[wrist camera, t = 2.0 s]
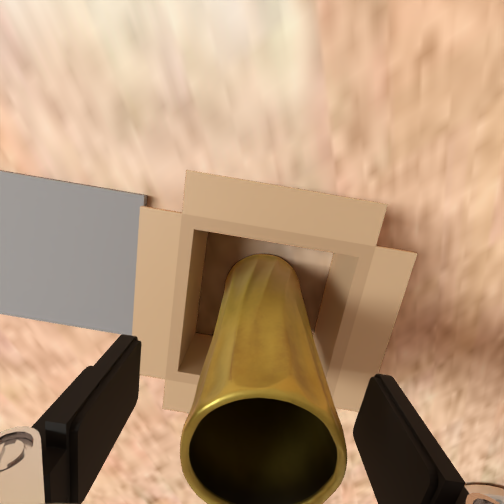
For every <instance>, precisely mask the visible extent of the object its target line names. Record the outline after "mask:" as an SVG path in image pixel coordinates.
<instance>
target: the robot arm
mask: <svg viewBox="0 0 504 504" xmlns="http://www.w3.org/2000/svg"><path fill="white" fill-rule="evenodd" d="M141 346H142V342H141V341H139V340H138V338H137V336H132V335H125V334H122V335H121V336H120V337H119V338H118V339H117V340H116V341H115V342H114V343H113V344H112V346H111V347H110V348H109V349H108V350H107V351H106V352H105V354H104V355H103V356H102V357H101V358H100V359H99V360H98V361H97V363H96V364H95V365H94V366H88V367H87V368H86V369H84V370H83V371H82V373H81V374H80V375H79V376H78V377H77V378H76V379H75V380H74V381H73V382H72V383H71V385H70V386H69V387H68V388H67V389H66V390H65V391H64V392H63V393H62V394H61V396H60V397H59V398H58V399H57V400H56V401H55V402H54V403H53V404H52V405H51V406H50V408H49V409H48V410H47V411H46V412H45V413H44V414H43V415H42V416H41V417H40V418H39V420H38V421H37V422H36V423H35V424H34V425H33V426H32V427H15V428H12V429H8V430H5V431H3V432H0V504H81V503H82V502H83V501H84V499H85V497H86V495H87V494H88V492H89V490H90V488H91V486H92V484H93V482H94V481H95V479H96V477H97V475H98V473H99V471H100V470H101V468H102V466H103V464H104V462H105V460H106V459H107V457H108V455H109V453H110V451H111V449H112V448H113V446H114V444H115V442H116V440H117V438H118V436H119V435H120V433H121V431H122V429H123V427H124V425H125V424H126V422H127V420H128V418H129V416H130V414H131V413H132V411H133V409H134V407H135V405H136V402H137V399H138V392H139V376H140V361H141ZM353 436H354V440H355V443H356V445H357V448H358V451H359V453H360V456H361V459H362V461H363V464H364V467H365V470H366V472H367V475H368V478H369V480H370V483H371V486H372V488H373V491H374V494H375V496H376V499H377V502H378V504H504V489H502V488H499V487H494V486H489V485H476V484H475V485H465V482H464V480H463V479H462V477H461V476H460V474H459V473H458V471H457V470H456V469H455V467H454V466H453V464H452V463H451V461H450V460H449V458H448V457H447V455H446V454H445V452H444V451H443V450H442V448H441V447H440V445H439V444H438V442H437V441H436V439H435V438H434V436H433V435H432V434H431V432H430V431H429V429H428V428H427V426H426V425H425V423H424V422H423V420H422V419H421V417H420V416H419V415H418V413H417V412H416V410H415V409H414V407H413V406H412V404H411V403H410V401H409V400H408V398H407V397H406V396H405V394H404V393H403V391H402V390H401V388H400V387H399V385H398V384H397V382H396V381H395V380H394V378H393V377H392V376H389V375H382V374H375V375H374V377H371V378H370V380H369V383H368V386H367V389H366V392H365V395H364V398H363V401H362V404H361V407H360V410H359V413H358V416H357V419H356V422H355V425H354V428H353Z"/></svg>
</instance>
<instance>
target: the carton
mask: <svg viewBox="0 0 504 504" xmlns="http://www.w3.org/2000/svg"><path fill="white" fill-rule="evenodd" d="M387 206H388V204H384V203H379V202H373V201H367V200H361V199H355V198H349V197H343V196H337V195H332V194H326V193H320V192H314V191H308V190H302V189H296V188H290V187H284V186H279V185H273V184H267V183H261V182H255V181H249V180H243V179H237V178H232V177H226V176H220V175H214V174H208V173H202V172H196V171H190V170H186V177H185V187H184V197H183V207H182V212H176V211H170V210H164V209H158V208H152V207H146V206H140V214H139V230H138V246H137V262H136V278H135V294H134V311H133V327H132V336H137V338H138V340H139V341H141V342H142V346H141V361H140V375H142V376H148V377H154V378H159V379H165V386H164V396H163V406H162V409H166V410H172V411H178V412H184V413H189V412H190V410H191V407H192V404H193V401H194V397H195V393H196V388H197V384H198V381H199V377H200V374H201V371H202V368H203V365H204V362H205V359H206V356H207V353H208V350H209V347H210V344H211V342H212V339H213V336H211V335H205V334H199V333H195V332H196V324H197V316H198V308H199V300H200V292H201V284H202V277H203V269H204V261H205V253H206V245H207V237H208V232H214V233H220V234H226V235H232V236H237V237H243V238H249V239H255V240H261V241H267V242H273V243H279V244H285V245H291V246H296V247H302V248H308V249H314V250H320V251H326V252H332V253H333V257H332V261H331V265H330V269H329V273H328V277H327V281H326V286H325V290H324V294H323V298H322V302H321V306H320V310H319V314H318V318H317V322H316V326H315V330H314V334H313V338H314V342H315V345H316V349H317V352H318V355H319V358H320V361H321V364H322V367H323V371H324V374H325V377H326V380H327V383H328V386H329V390H330V393H331V396H332V399H333V403H334V406H335V408H338V409H344V410H350V411H356V412H359V410H360V407H361V404H362V401H363V398H364V395H365V392H366V389H367V386H368V383H369V380H370V378H371V377H374V375H375V374H378V373H379V370H380V367H381V364H382V361H383V358H384V355H385V352H386V349H387V346H388V343H389V340H390V337H391V334H392V331H393V327H394V324H395V321H396V318H397V315H398V312H399V309H400V306H401V303H402V300H403V297H404V294H405V291H406V288H407V284H408V281H409V278H410V275H411V272H412V269H413V266H414V263H415V260H416V257H417V254H418V253H415V252H411V251H406V250H400V249H394V248H388V247H382V246H376V244H377V241H378V237H379V234H380V230H381V227H382V223H383V220H384V216H385V213H386V209H387Z"/></svg>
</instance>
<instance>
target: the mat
mask: <svg viewBox="0 0 504 504" xmlns="http://www.w3.org/2000/svg"><path fill="white" fill-rule="evenodd" d="M146 204H147V195H142V194H136V193H130V192H125V191H119V190H113V189H107V188H101V187H95V186H89V185H83V184H77V183H71V182H66V181H60V180H54V179H48V178H42V177H36V176H30V175H24V174H18V173H13V172H7V171H1V170H0V314H4V315H10V316H16V317H22V318H28V319H34V320H39V321H45V322H51V323H57V324H63V325H69V326H75V327H81V328H87V329H93V330H99V331H105V332H111V333H117V334H125V335H132V327H133V311H134V294H135V278H136V262H137V246H138V230H139V214H140V206H146Z"/></svg>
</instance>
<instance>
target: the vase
mask: <svg viewBox="0 0 504 504" xmlns="http://www.w3.org/2000/svg"><path fill="white" fill-rule="evenodd" d="M180 459H181V466H182V471H183V473H184V476H185V478H186V480H187V482H188V483H189V485H190V486H191V488H192V489H193V491H194V492H195V493H196V494H197V495H198V496H199V497H200V498H201V499H202V500H204V501H205V502H206V503H207V504H323V503H324V502H325V501H326V500H327V499H328V498H329V497H330V496H331V495H332V494H333V493H334V492H335V491H336V489H337V488H338V487H339V485H340V484H341V482H342V480H343V478H344V475H345V471H346V465H347V448H346V443H345V438H344V433H343V429H342V426H341V423H340V420H339V417H338V414H337V412H336V409H335V406H334V403H333V399H332V396H331V393H330V390H329V386H328V383H327V380H326V377H325V374H324V371H323V367H322V364H321V361H320V358H319V355H318V352H317V349H316V345H315V342H314V338H313V335H312V331H311V327H310V324H309V320H308V316H307V312H306V309H305V304H304V300H303V297H302V293H301V289H300V282H299V279H298V277H297V275H296V273H295V271H294V269H293V268H292V267H291V266H290V265H289V264H288V263H287V262H286V261H284V260H283V259H281V258H279V257H277V256H274V255H268V254H256V255H251V256H248V257H246V258H244V259H242V260H240V261H239V262H237V263H236V264H235V265H234V266H233V268H232V269H231V270H230V272H229V274H228V276H227V278H226V282H225V291H224V295H223V299H222V302H221V307H220V311H219V315H218V319H217V323H216V327H215V331H214V335H213V339H212V342H211V344H210V347H209V350H208V353H207V356H206V359H205V362H204V365H203V368H202V371H201V374H200V377H199V381H198V384H197V388H196V393H195V397H194V401H193V404H192V407H191V410H190V412H189V415H188V417H187V419H186V422H185V424H184V427H183V430H182V436H181V442H180Z"/></svg>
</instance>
